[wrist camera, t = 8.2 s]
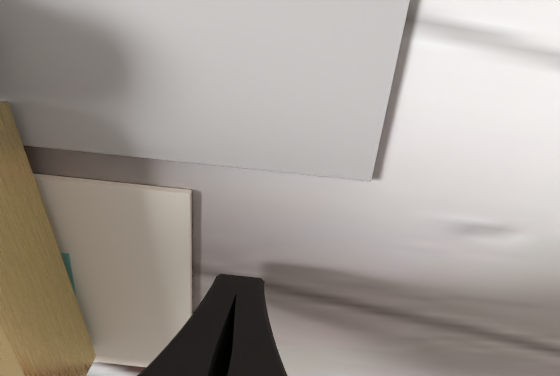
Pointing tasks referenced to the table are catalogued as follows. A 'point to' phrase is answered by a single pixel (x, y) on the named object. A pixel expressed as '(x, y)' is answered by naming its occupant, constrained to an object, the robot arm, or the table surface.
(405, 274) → the table surface
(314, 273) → the table surface
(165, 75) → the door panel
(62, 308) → the bar
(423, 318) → the table surface
